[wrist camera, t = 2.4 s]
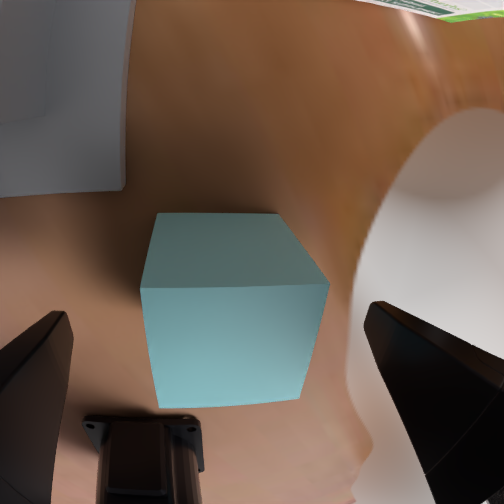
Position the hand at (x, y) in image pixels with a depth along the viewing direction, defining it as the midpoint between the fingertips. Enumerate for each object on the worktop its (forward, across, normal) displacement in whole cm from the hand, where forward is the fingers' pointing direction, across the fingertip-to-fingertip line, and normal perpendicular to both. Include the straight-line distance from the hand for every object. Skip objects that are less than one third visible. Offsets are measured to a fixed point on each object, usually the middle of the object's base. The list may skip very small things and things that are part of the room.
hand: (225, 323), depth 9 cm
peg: (+3, 0, 0) cm, 3 cm away
